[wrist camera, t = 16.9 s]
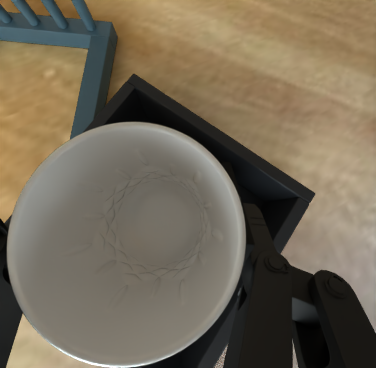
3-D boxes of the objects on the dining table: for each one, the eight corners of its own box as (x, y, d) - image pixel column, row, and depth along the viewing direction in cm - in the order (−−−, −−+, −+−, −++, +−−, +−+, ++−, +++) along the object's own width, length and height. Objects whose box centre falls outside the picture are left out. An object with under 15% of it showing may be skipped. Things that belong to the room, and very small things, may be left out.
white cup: (108, 191, 16) (-13, 158, 6) (191, 165, 17) (201, 95, 7) (132, 280, 15) (29, 413, 5) (220, 249, 15) (283, 313, 6)
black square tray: (149, 116, 18) (133, 72, 12) (272, 199, 17) (316, 193, 11) (51, 238, 16) (-22, 253, 10) (183, 342, 15) (182, 421, 9)
